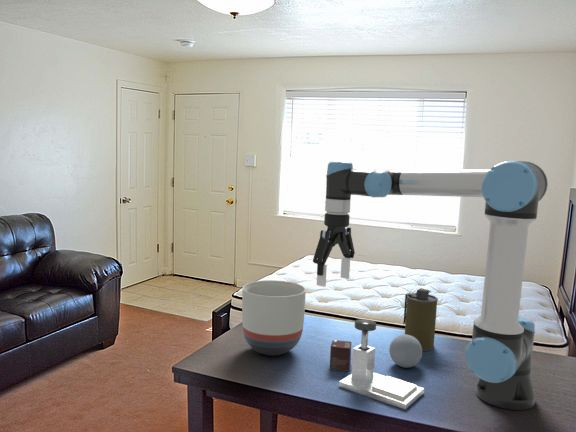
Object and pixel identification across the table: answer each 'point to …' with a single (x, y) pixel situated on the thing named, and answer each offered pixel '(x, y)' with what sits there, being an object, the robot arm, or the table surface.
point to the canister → (421, 317)
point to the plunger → (365, 330)
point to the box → (340, 355)
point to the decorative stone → (405, 350)
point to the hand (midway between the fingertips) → (333, 281)
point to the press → (378, 381)
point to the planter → (273, 315)
